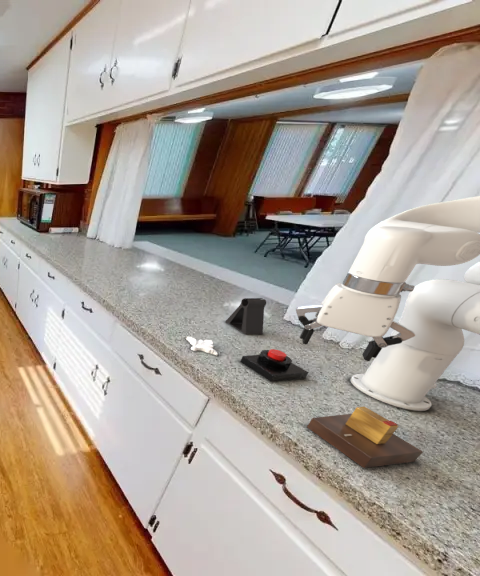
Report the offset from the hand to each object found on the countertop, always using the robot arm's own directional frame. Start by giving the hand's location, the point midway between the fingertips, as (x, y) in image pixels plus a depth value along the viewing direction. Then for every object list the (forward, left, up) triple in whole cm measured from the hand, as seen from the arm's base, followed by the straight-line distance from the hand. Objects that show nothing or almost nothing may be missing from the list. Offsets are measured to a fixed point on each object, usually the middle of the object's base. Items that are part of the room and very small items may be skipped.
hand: (333, 349), depth 70 cm
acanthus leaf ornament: (+8, -24, -15) cm, 30 cm away
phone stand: (-17, -33, -15) cm, 40 cm away
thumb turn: (+4, +13, -12) cm, 18 cm away
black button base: (-3, -11, -15) cm, 19 cm away
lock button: (-4, -12, -12) cm, 17 cm away
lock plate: (+4, +13, -15) cm, 20 cm away
